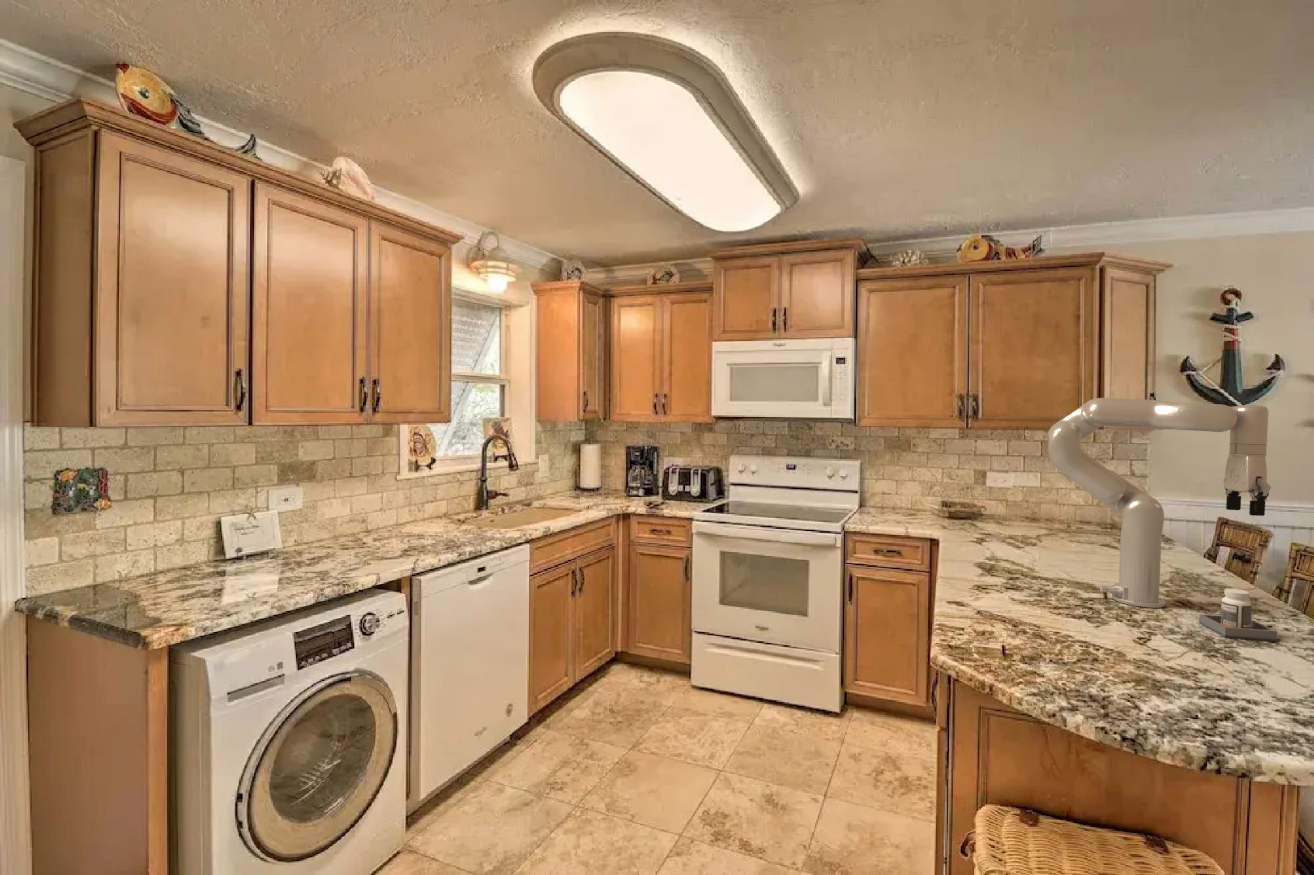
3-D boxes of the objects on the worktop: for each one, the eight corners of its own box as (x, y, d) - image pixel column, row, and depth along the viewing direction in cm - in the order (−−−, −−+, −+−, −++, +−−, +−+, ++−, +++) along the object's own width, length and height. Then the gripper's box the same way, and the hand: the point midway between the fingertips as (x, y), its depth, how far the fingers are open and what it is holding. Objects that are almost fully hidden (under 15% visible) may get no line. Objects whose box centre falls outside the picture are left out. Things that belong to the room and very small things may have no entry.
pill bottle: (1242, 627, 165) (1244, 588, 165) (1255, 634, 160) (1257, 595, 159) (1215, 624, 167) (1217, 586, 167) (1227, 631, 162) (1229, 592, 161)
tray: (1224, 637, 159) (1225, 627, 159) (1199, 623, 170) (1199, 614, 169) (1276, 641, 157) (1277, 631, 157) (1247, 626, 167) (1247, 617, 167)
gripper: (1212, 448, 185) (1209, 507, 186) (1252, 452, 168) (1249, 517, 169) (1243, 448, 183) (1240, 508, 184) (1287, 452, 166) (1283, 518, 167)
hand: (1244, 512), depth 176 cm, fingers open, 9 cm apart
